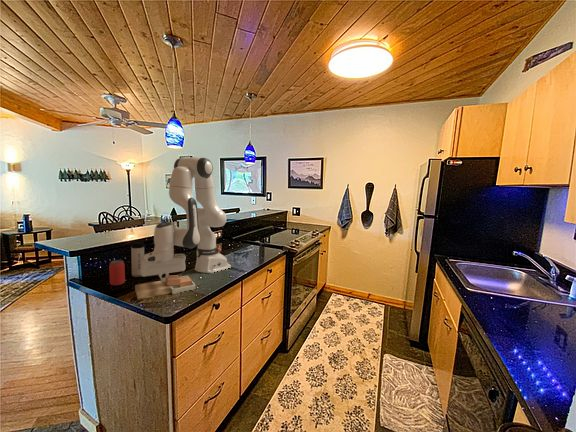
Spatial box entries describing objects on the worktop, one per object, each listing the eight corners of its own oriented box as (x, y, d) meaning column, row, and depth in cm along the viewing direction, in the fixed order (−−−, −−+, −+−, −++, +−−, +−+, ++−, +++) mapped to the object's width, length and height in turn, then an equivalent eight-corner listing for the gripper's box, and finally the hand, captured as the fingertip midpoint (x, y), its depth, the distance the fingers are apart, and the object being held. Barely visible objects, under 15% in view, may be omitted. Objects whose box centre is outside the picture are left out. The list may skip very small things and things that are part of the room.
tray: (187, 279, 137) (187, 275, 137) (195, 289, 125) (195, 285, 125) (165, 283, 130) (165, 279, 130) (172, 294, 118) (172, 289, 118)
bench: (166, 285, 129) (166, 279, 128) (170, 293, 120) (170, 287, 120) (135, 290, 120) (134, 285, 120) (137, 299, 111) (137, 293, 111)
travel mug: (134, 272, 143) (134, 239, 140) (146, 273, 143) (146, 240, 141) (128, 276, 136) (128, 242, 134) (141, 277, 137) (140, 242, 135)
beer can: (117, 286, 124) (116, 264, 122) (106, 284, 125) (105, 262, 123) (128, 281, 130) (127, 260, 129) (117, 280, 131) (117, 258, 130)
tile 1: (176, 280, 129) (177, 275, 129) (179, 284, 124) (180, 279, 124) (164, 281, 125) (165, 275, 125) (167, 285, 120) (168, 279, 120)
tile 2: (188, 282, 133) (188, 276, 132) (192, 286, 128) (192, 280, 128) (177, 284, 129) (177, 278, 129) (180, 288, 124) (180, 282, 124)
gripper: (184, 251, 130) (183, 276, 131) (139, 255, 117) (139, 283, 119) (187, 254, 125) (186, 280, 126) (141, 259, 112) (141, 287, 114)
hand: (163, 281), depth 122 cm, fingers closed
